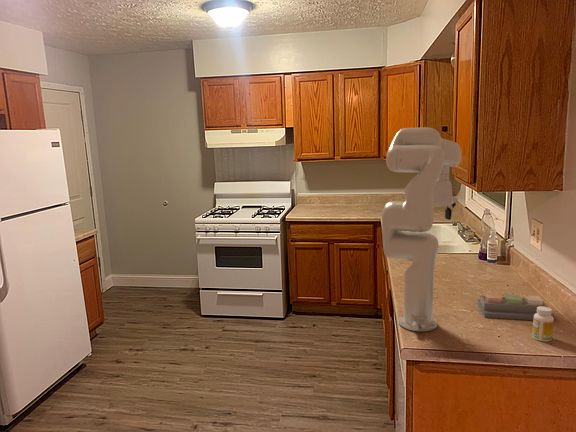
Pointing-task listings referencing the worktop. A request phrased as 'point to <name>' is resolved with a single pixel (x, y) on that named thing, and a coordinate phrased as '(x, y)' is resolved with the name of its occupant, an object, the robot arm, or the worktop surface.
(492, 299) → the terracotta key
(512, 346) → the worktop surface
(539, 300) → the cream key
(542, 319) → the supplement bottle
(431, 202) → the robot arm
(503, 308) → the console
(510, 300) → the sage key
